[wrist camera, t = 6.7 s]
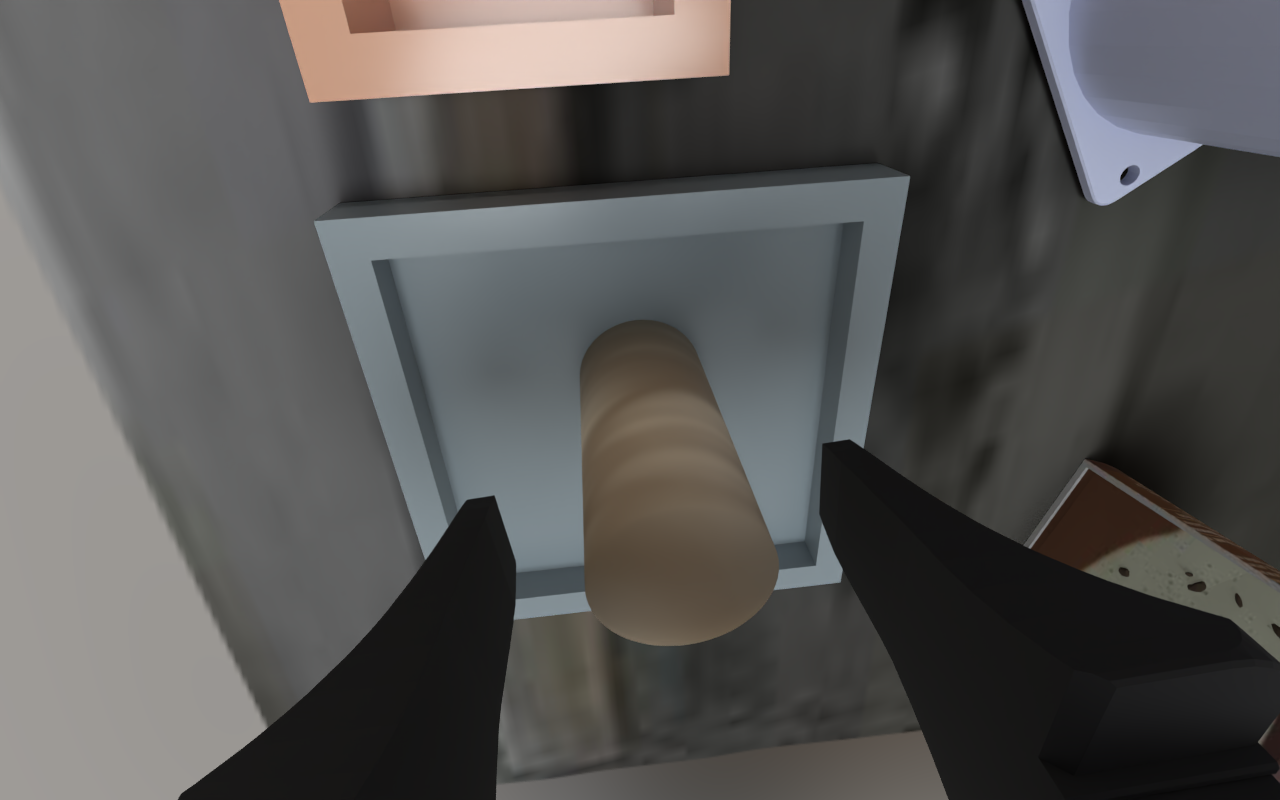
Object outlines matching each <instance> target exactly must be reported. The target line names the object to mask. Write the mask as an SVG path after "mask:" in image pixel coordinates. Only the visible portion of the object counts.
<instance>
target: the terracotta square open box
mask: <svg viewBox="0 0 1280 800" xmlns="http://www.w3.org/2000/svg"><path fill="white" fill-rule="evenodd" d="M279 2H280V5H281V8H282V12H283V15H284V18H285V22H286V25H287V28H288V32H289V35H290V38H291V41H292V45H293V48H294V51H295V55H296V58H297V61H298V65H299V68H300V71H301V75H302V78H303V81H304V84H305V88H306V91H307V94H308V98H309V101H310V103H311V102H326V101H342V100H357V99H373V98H388V97H403V96H419V95H434V94H449V93H465V92H480V91H496V90H511V89H526V88H542V87H557V86H572V85H588V84H603V83H619V82H634V81H649V80H665V79H680V78H695V77H711V76H726V75H729V57H730V11H731V0H279Z"/></svg>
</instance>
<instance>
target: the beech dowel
mask: <svg viewBox="0 0 1280 800" xmlns="http://www.w3.org/2000/svg"><path fill="white" fill-rule="evenodd" d="M580 406H581V448H582V491H583V534H584V577H585V595H586V598H587V602H588V604H589V606H590V608H591V610H592V612H593V614H594V615H595V616H596V618H597V619H598V620H599V621H600V622H601V623H602V624H603V625H604V626H606V627H607V628H608V629H610V630H611V631H612V632H614V633H616V634H618V635H620V636H622V637H624V638H627V639H629V640H632V641H636V642H639V643H644V644H649V645H658V646H679V645H688V644H694V643H699V642H703V641H706V640H710V639H713V638H716V637H718V636H721V635H723V634H725V633H728V632H730V631H732V630H733V629H735V628H737V627H739V626H740V625H742V624H743V623H745V622H746V621H747V620H749V619H750V618H751V617H752V616H754V615H755V614H756V613H757V612H758V611H759V610H760V609H761V608H762V606H763V605H764V604H765V603H766V601H767V600H768V599H769V597H770V596H771V594H772V592H773V590H774V588H775V585H776V582H777V579H778V573H779V559H778V555H777V551H776V548H775V546H774V543H773V541H772V538H771V536H770V533H769V531H768V528H767V526H766V523H765V521H764V518H763V516H762V513H761V511H760V508H759V506H758V504H757V501H756V499H755V496H754V494H753V491H752V489H751V486H750V484H749V481H748V479H747V476H746V474H745V471H744V469H743V466H742V464H741V461H740V459H739V456H738V454H737V451H736V449H735V446H734V444H733V441H732V439H731V436H730V434H729V431H728V429H727V426H726V424H725V422H724V419H723V417H722V414H721V412H720V409H719V407H718V404H717V402H716V399H715V397H714V394H713V392H712V389H711V387H710V384H709V382H708V379H707V377H706V374H705V372H704V369H703V367H702V364H701V362H700V359H699V357H698V355H697V352H696V350H695V348H694V346H693V345H692V343H691V342H690V341H689V339H688V338H687V337H686V336H685V335H684V334H683V333H681V332H680V331H679V330H677V329H676V328H674V327H672V326H670V325H668V324H665V323H662V322H658V321H653V320H633V321H628V322H624V323H621V324H618V325H616V326H614V327H611V328H610V329H608V330H606V331H605V332H603V333H602V334H601V335H600V336H598V337H597V338H596V339H595V340H594V341H593V343H592V344H591V345H590V347H589V348H588V350H587V351H586V353H585V355H584V358H583V360H582V364H581V368H580Z"/></svg>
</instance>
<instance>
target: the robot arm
mask: <svg viewBox="0 0 1280 800" xmlns="http://www.w3.org/2000/svg"><path fill="white" fill-rule="evenodd" d="M1022 2H1023V6H1024V9H1025V12H1026V15H1027V18H1028V21H1029V24H1030V27H1031V31H1032V34H1033V37H1034V40H1035V43H1036V46H1037V49H1038V52H1039V56H1040V59H1041V62H1042V65H1043V68H1044V71H1045V74H1046V78H1047V81H1048V84H1049V87H1050V90H1051V93H1052V96H1053V99H1054V103H1055V106H1056V109H1057V112H1058V115H1059V118H1060V121H1061V125H1062V128H1063V131H1064V134H1065V137H1066V140H1067V143H1068V146H1069V150H1070V153H1071V156H1072V159H1073V162H1074V165H1075V168H1076V172H1077V175H1078V178H1079V181H1080V184H1081V187H1082V190H1083V193H1084V196H1085V198H1086V199H1087V201H1089V202H1091V203H1094V204H1097V205H1100V206H1102V205H1109V204H1111V203H1113V202H1115V201H1117V200H1118V199H1120V198H1121V197H1123V196H1124V195H1126V194H1127V193H1129V192H1130V191H1132V190H1134V189H1135V188H1137V187H1138V186H1140V185H1141V184H1143V183H1144V182H1146V181H1148V180H1149V179H1151V178H1152V177H1154V176H1155V175H1157V174H1158V173H1160V172H1162V171H1163V170H1165V169H1166V168H1168V167H1169V166H1171V165H1172V164H1174V163H1175V162H1177V161H1179V160H1180V159H1182V158H1183V157H1185V156H1186V155H1188V154H1189V153H1191V152H1193V151H1194V150H1196V149H1197V148H1199V147H1200V146H1202V145H1203V144H1204V145H1210V146H1216V147H1222V148H1228V149H1234V150H1240V151H1246V152H1252V153H1258V154H1264V155H1270V156H1276V157H1280V0H1022ZM1127 167H1128V172H1127V174H1126V176H1125V177H1124V178H1123V179H1122V180H1121V181H1120V176H1121V174H1122V172H1123V171H1124V170H1125V169H1126V168H1127ZM819 515H820V518H821V520H822V523H823V526H824V528H825V531H826V534H827V536H828V539H829V541H830V544H831V546H832V549H833V551H834V554H835V556H836V557H837V559H838V561H839V563H840V565H841V567H842V569H843V571H844V572H845V574H846V576H847V578H848V580H849V582H850V583H851V585H852V587H853V589H854V591H855V592H856V594H857V596H858V598H859V600H860V601H861V603H862V605H863V607H864V609H865V610H866V612H867V614H868V616H869V618H870V619H871V621H872V623H873V625H874V627H875V628H876V630H877V632H878V634H879V636H880V638H881V639H882V641H883V643H884V645H885V647H886V649H887V651H888V653H889V655H890V657H891V659H892V661H893V663H894V665H895V668H896V670H897V672H898V675H899V677H900V679H901V682H902V684H903V686H904V689H905V691H906V693H907V696H908V698H909V700H910V703H911V705H912V707H913V710H914V712H915V715H916V717H917V720H918V722H919V725H920V727H921V730H922V732H923V735H924V737H925V740H926V742H927V744H928V747H929V749H930V752H931V754H932V757H933V759H934V762H935V765H936V767H937V770H938V773H939V775H940V778H941V781H942V783H943V786H944V788H945V791H946V794H947V796H948V799H949V800H1280V783H1279V782H1278V781H1277V780H1276V779H1275V777H1274V776H1273V775H1272V774H1276V773H1277V772H1278V771H1279V769H1280V768H1279V765H1278V762H1277V761H1276V760H1275V759H1274V758H1273V757H1272V756H1271V755H1270V754H1269V753H1268V752H1267V751H1266V750H1265V749H1264V748H1263V747H1262V746H1261V745H1260V744H1259V743H1258V741H1259V740H1260V739H1261V737H1262V736H1263V735H1264V733H1265V732H1266V731H1267V729H1268V728H1269V727H1270V725H1271V724H1272V723H1273V721H1274V720H1275V719H1276V717H1277V716H1278V715H1279V713H1280V662H1279V661H1278V660H1277V659H1276V658H1274V657H1273V656H1272V655H1271V654H1270V653H1269V652H1268V651H1266V650H1265V649H1264V648H1263V647H1262V646H1261V645H1260V644H1258V643H1257V642H1256V641H1255V640H1254V639H1253V638H1252V637H1250V636H1249V635H1248V634H1247V633H1246V632H1245V631H1244V630H1243V629H1241V628H1240V627H1239V626H1238V625H1237V624H1235V623H1234V622H1233V621H1232V620H1231V619H1229V618H1225V617H1222V616H1218V615H1215V614H1212V613H1208V612H1205V611H1201V610H1198V609H1194V608H1191V607H1188V606H1184V605H1181V604H1177V603H1174V602H1171V601H1167V600H1164V599H1160V598H1157V597H1154V596H1151V595H1148V594H1145V593H1142V592H1139V591H1136V590H1133V589H1130V588H1128V587H1125V586H1122V585H1119V584H1116V583H1113V582H1110V581H1107V580H1105V579H1102V578H1100V577H1097V576H1094V575H1092V574H1089V573H1086V572H1084V571H1081V570H1079V569H1076V568H1074V567H1071V566H1069V565H1067V564H1064V563H1062V562H1060V561H1057V560H1055V559H1052V558H1050V557H1048V556H1045V555H1043V554H1041V553H1038V552H1036V551H1034V550H1032V549H1030V548H1027V547H1025V546H1023V545H1021V544H1019V543H1017V542H1015V541H1013V540H1011V539H1009V538H1007V537H1005V536H1003V535H1001V534H999V533H997V532H995V531H993V530H991V529H989V528H987V527H985V526H984V525H982V524H980V523H978V522H976V521H974V520H973V519H971V518H969V517H967V516H966V515H964V514H962V513H961V512H959V511H957V510H955V509H954V508H952V507H950V506H949V505H947V504H945V503H944V502H942V501H940V500H939V499H937V498H936V497H934V496H932V495H931V494H929V493H928V492H926V491H925V490H923V489H921V488H920V487H918V486H917V485H915V484H914V483H912V482H911V481H909V480H908V479H906V478H905V477H903V476H902V475H901V474H899V473H898V472H896V471H895V470H893V469H892V468H890V467H889V466H888V465H886V464H885V463H883V462H882V461H880V460H879V459H878V458H876V457H875V456H873V455H872V454H871V453H869V452H868V451H866V450H865V449H863V448H862V447H861V446H859V445H858V444H856V443H855V442H853V441H852V440H850V439H848V440H841V441H835V442H829V443H822V460H821V482H820V505H819ZM515 606H516V560H515V557H514V554H513V551H512V548H511V545H510V542H509V538H508V535H507V532H506V529H505V526H504V523H503V520H502V517H501V514H500V511H499V508H498V504H497V501H496V498H495V495H493V496H487V497H481V498H474V499H468V500H466V501H465V502H464V504H463V505H462V507H461V508H460V510H459V511H458V513H457V514H456V516H455V517H454V519H453V520H452V522H451V523H450V525H449V526H448V528H447V529H446V531H445V532H444V534H443V535H442V537H441V538H440V540H439V541H438V543H437V544H436V546H435V547H434V549H433V550H432V552H431V553H430V555H429V556H428V557H427V559H426V560H425V562H424V563H423V564H422V566H421V567H420V569H419V570H418V572H417V573H416V574H415V576H414V577H413V578H412V580H411V581H410V582H409V584H408V585H407V586H406V588H405V589H404V590H403V591H402V593H401V594H400V595H399V597H398V598H397V599H396V600H395V602H394V603H393V604H392V606H391V607H390V608H389V609H388V611H387V612H386V613H385V614H384V615H383V617H382V618H381V619H380V620H379V621H378V623H377V624H376V625H375V626H374V627H373V628H372V630H371V631H370V632H369V633H368V634H367V635H366V636H365V637H364V638H363V639H362V640H361V642H360V643H359V644H358V645H357V646H356V647H355V648H354V649H353V650H352V651H351V652H350V653H349V654H348V655H347V656H346V657H345V658H344V659H343V660H342V661H341V662H340V663H339V664H338V665H337V666H336V667H335V668H334V669H333V670H332V671H331V672H330V673H329V674H328V675H327V676H326V677H325V678H323V679H322V680H321V681H320V682H319V683H318V684H317V685H316V686H315V687H314V688H313V689H312V690H311V691H310V692H309V693H308V694H307V695H306V696H305V697H303V698H302V699H301V700H300V701H299V702H298V703H297V704H295V705H294V706H293V707H292V708H291V709H290V710H289V711H287V712H286V713H285V714H284V715H283V716H282V717H280V718H279V719H278V720H277V721H276V722H274V723H273V724H272V725H271V726H270V727H268V728H267V729H266V730H265V731H264V732H262V733H261V734H260V735H259V736H258V737H257V738H255V739H254V740H253V741H251V742H250V743H249V744H247V745H246V746H245V747H244V748H243V749H241V750H240V751H239V752H237V753H236V754H235V755H233V756H232V757H230V758H229V759H228V760H227V761H225V762H224V763H223V764H221V765H220V766H218V767H217V768H216V769H214V770H213V771H212V772H210V773H209V774H208V775H206V776H205V777H204V778H202V779H201V780H200V781H198V782H197V783H196V784H195V785H193V786H192V787H190V788H189V789H187V790H186V791H184V792H183V793H182V794H181V795H180V797H179V799H178V800H496V776H497V755H498V734H499V721H500V711H501V703H502V696H503V689H504V682H505V676H506V669H507V662H508V655H509V649H510V642H511V635H512V628H513V621H514V613H515Z"/></svg>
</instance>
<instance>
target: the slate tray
mask: <svg viewBox="0 0 1280 800" xmlns="http://www.w3.org/2000/svg"><path fill="white" fill-rule="evenodd" d="M909 181H910V176H909V175H907V174H904V173H902V172H899V171H897V170H894V169H892V168H889V167H887V166H884V165H882V164H879V163H871V164H857V165H844V166H830V167H817V168H803V169H790V170H777V171H763V172H750V173H736V174H723V175H709V176H696V177H682V178H669V179H656V180H642V181H629V182H615V183H602V184H588V185H575V186H561V187H548V188H535V189H521V190H508V191H494V192H481V193H467V194H454V195H440V196H427V197H413V198H400V199H387V200H373V201H360V202H346V203H339V204H338V205H336V206H335V207H333V208H332V209H330V210H329V211H328V212H326V213H325V214H323V215H322V216H321V217H319V218H318V219H316V220H315V221H314V224H315V227H316V230H317V233H318V236H319V239H320V242H321V245H322V248H323V251H324V254H325V257H326V260H327V263H328V266H329V269H330V272H331V275H332V278H333V281H334V285H335V288H336V291H337V294H338V297H339V300H340V303H341V306H342V309H343V312H344V315H345V318H346V321H347V324H348V327H349V330H350V333H351V336H352V339H353V342H354V345H355V348H356V351H357V354H358V357H359V360H360V363H361V366H362V369H363V372H364V375H365V379H366V382H367V385H368V388H369V391H370V394H371V397H372V400H373V403H374V406H375V409H376V412H377V415H378V418H379V421H380V424H381V427H382V430H383V433H384V436H385V439H386V442H387V445H388V448H389V451H390V454H391V457H392V460H393V463H394V466H395V469H396V472H397V476H398V479H399V482H400V485H401V488H402V491H403V494H404V497H405V500H406V503H407V506H408V509H409V512H410V515H411V518H412V521H413V524H414V527H415V530H416V533H417V536H418V539H419V542H420V545H421V548H422V551H423V554H424V557H425V560H426V559H427V557H428V556H429V555H430V553H431V552H432V550H433V549H434V547H435V546H436V544H437V543H438V541H439V540H440V538H441V537H442V535H443V534H444V532H445V531H446V529H447V528H448V526H449V525H450V523H451V522H452V520H453V519H454V517H455V516H456V514H457V513H458V511H459V510H460V508H461V507H462V505H463V504H464V502H465V501H466V500H468V499H474V498H481V497H487V496H493V495H495V498H496V501H497V504H498V508H499V511H500V514H501V517H502V520H503V523H504V526H505V529H506V532H507V535H508V538H509V542H510V545H511V548H512V551H513V554H514V557H515V560H516V606H515V613H514V620H515V619H524V618H533V617H542V616H550V615H559V614H568V613H577V612H585V611H592V610H591V608H590V606H589V604H588V602H587V598H586V595H585V577H584V534H583V491H582V448H581V406H580V368H581V364H582V360H583V358H584V355H585V353H586V351H587V350H588V348H589V347H590V345H591V344H592V343H593V341H594V340H595V339H596V338H597V337H598V336H600V335H601V334H602V333H603V332H605V331H606V330H608V329H610V328H611V327H614V326H616V325H618V324H621V323H624V322H628V321H633V320H653V321H658V322H662V323H665V324H668V325H670V326H672V327H674V328H676V329H677V330H679V331H680V332H681V333H683V334H684V335H685V336H686V337H687V338H688V339H689V341H690V342H691V343H692V345H693V346H694V348H695V350H696V352H697V355H698V357H699V359H700V362H701V364H702V367H703V369H704V372H705V374H706V377H707V379H708V382H709V384H710V387H711V389H712V392H713V394H714V397H715V399H716V402H717V404H718V407H719V409H720V412H721V414H722V417H723V419H724V422H725V424H726V426H727V429H728V431H729V434H730V436H731V439H732V441H733V444H734V446H735V449H736V451H737V454H738V456H739V459H740V461H741V464H742V466H743V469H744V471H745V474H746V476H747V479H748V481H749V484H750V486H751V489H752V491H753V494H754V496H755V499H756V501H757V504H758V506H759V508H760V511H761V513H762V516H763V518H764V521H765V523H766V526H767V528H768V531H769V533H770V536H771V538H772V541H773V543H774V546H775V548H776V551H777V555H778V559H779V573H778V579H777V582H776V585H775V588H774V590H778V589H787V588H796V587H804V586H813V585H822V584H831V583H839V582H840V581H841V576H842V570H843V569H842V567H841V565H840V563H839V561H838V559H837V557H836V556H835V554H834V551H833V549H832V546H831V544H830V541H829V539H828V536H827V534H826V531H825V528H824V526H823V523H822V520H821V518H820V515H819V505H820V482H821V460H822V443H829V442H835V441H841V440H848V439H850V440H852V441H853V442H855V443H856V444H858V445H859V446H861V447H862V448H864V442H865V436H866V431H867V425H868V419H869V413H870V407H871V402H872V396H873V390H874V384H875V378H876V373H877V367H878V361H879V355H880V349H881V344H882V338H883V332H884V326H885V320H886V315H887V309H888V303H889V297H890V291H891V286H892V280H893V274H894V268H895V262H896V257H897V251H898V245H899V239H900V233H901V228H902V222H903V216H904V210H905V204H906V199H907V193H908V187H909Z"/></svg>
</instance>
